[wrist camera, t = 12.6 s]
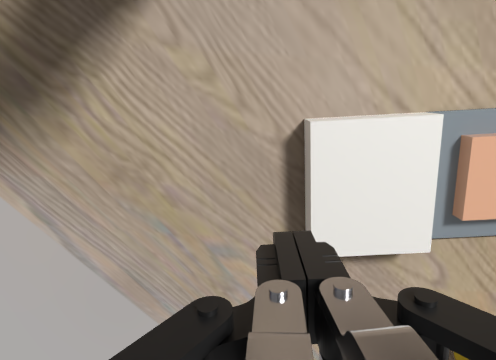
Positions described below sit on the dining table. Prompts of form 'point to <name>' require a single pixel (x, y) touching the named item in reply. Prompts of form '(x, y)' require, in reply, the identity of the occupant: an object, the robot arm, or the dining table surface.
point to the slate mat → (447, 172)
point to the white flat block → (372, 182)
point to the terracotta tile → (476, 178)
